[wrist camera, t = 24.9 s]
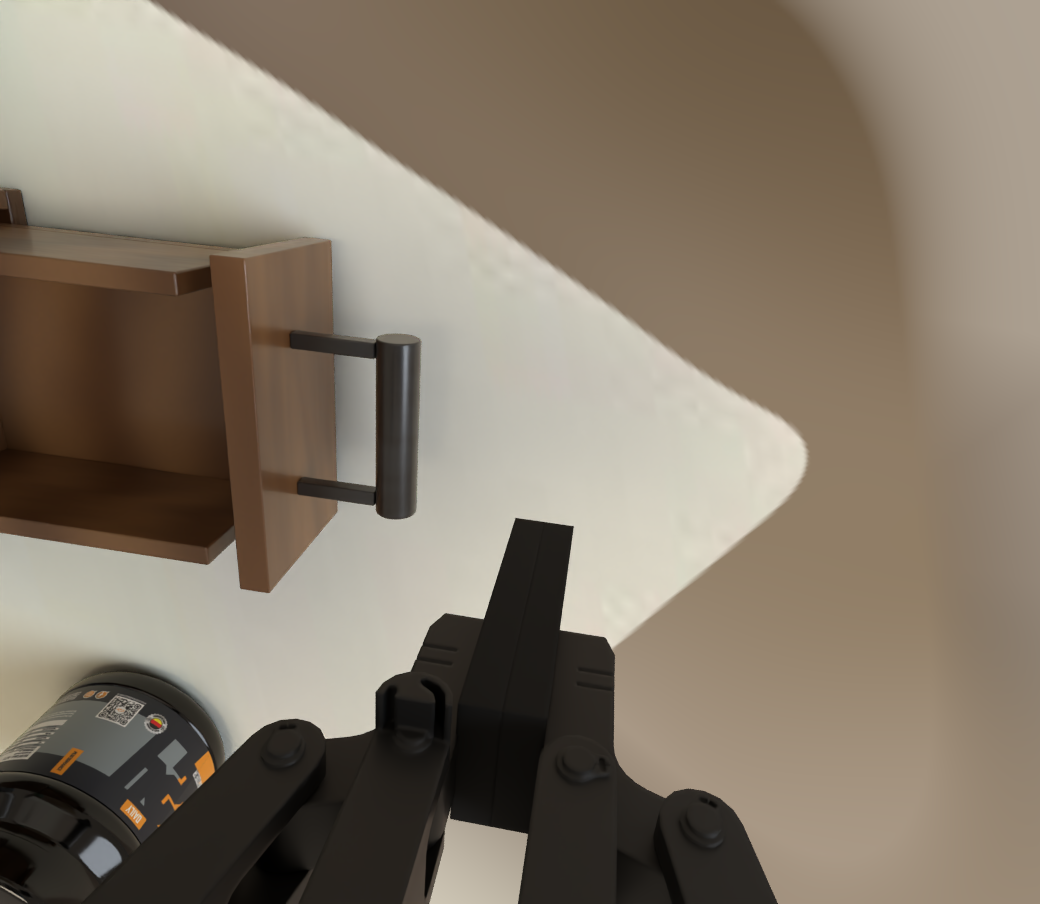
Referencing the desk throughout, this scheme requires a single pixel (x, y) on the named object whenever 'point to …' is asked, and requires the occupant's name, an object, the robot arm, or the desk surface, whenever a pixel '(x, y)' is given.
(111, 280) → the drawer
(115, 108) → the desk surface
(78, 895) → the supplement container
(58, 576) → the desk surface
